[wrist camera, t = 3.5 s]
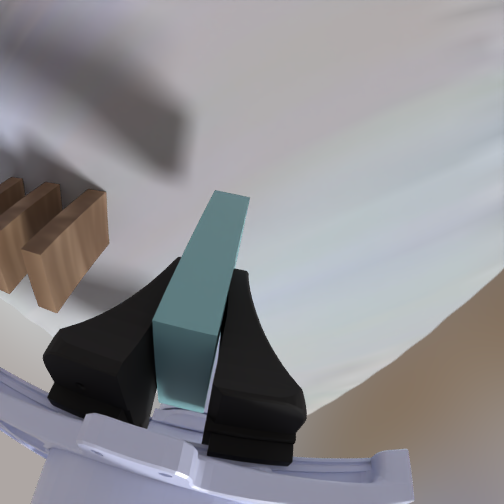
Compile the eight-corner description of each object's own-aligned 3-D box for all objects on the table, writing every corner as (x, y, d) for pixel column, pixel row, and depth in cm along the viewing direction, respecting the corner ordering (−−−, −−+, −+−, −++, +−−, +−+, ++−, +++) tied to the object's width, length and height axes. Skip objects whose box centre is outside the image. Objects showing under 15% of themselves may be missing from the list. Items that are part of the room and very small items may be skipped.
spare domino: (250, 197, 15) (217, 335, 8) (233, 274, 18) (203, 413, 11) (215, 190, 15) (152, 319, 8) (203, 267, 18) (158, 402, 11)
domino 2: (106, 191, 22) (40, 255, 15) (109, 243, 25) (57, 313, 18) (88, 188, 22) (20, 248, 15) (92, 239, 25) (38, 306, 18)
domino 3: (59, 184, 22) (-9, 239, 15) (65, 233, 25) (9, 294, 18) (45, 182, 22) (-23, 234, 15) (51, 229, 25) (-5, 287, 18)
